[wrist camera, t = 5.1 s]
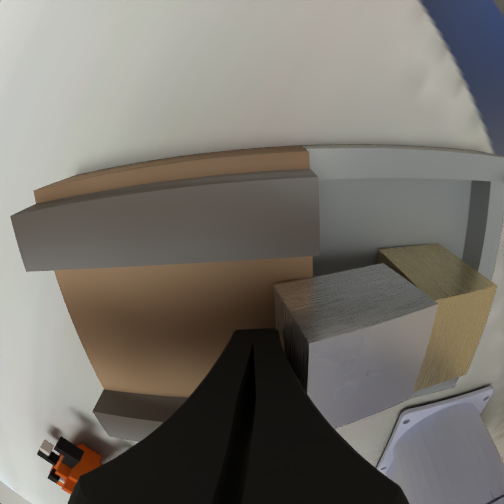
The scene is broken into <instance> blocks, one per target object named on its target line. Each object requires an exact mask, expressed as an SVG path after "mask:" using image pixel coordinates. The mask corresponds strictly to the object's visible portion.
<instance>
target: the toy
mask: <svg viewBox="0 0 504 504" xmlns="http://www.w3.org/2000/svg"><path fill="white" fill-rule="evenodd" d="M53 447H54V445H52V444H51V443H49V442H48V441H46V440H44V441H43V443H42V445H41V447H40V449H39V451H38V453H37V455H39V456H40V457H42V458H43V459H45V460H46V461H48V462H49V463H51V464H52V465H53V467H52V469H51V471H50V474H49V476H48V479H50V480H51V481H53V482H55V483H56V484H58V485H60V486H61V487H62V489H63V490H64V491H66V492H68V493H70V494H72V491H73V488H74V486H75V484H76V483H77V481H78V479H79V477H80V476H81V475H83V474H85V473H88V472H90V471H92V470H94V469H96V468H97V467H99V466H101V463H100V460H101V458H102V457H101V456H99V454H98V453H97V452H95V451H93V450H91V449H90V448H88V447H86V446H85V445H83V444H82V443H80V444H79V445H78V446H75V445H74V444H72V443H70V442H69V441H67V440H66V439H64V438H63V437H60V439H59V440H58V442H57V444H56V446H55V448H54V450H56V451H57V452H59V453H60V455H59V456H58V455H57V454H55V453H54V452H52V449H53Z"/></svg>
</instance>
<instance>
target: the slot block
mask: <svg viewBox="0 0 504 504" xmlns="http://www.w3.org/2000/svg"><path fill="white" fill-rule="evenodd" d="M34 195H35V200H36V204H35V205H33V206H31V207H28V208H26V209H24V210H22V211H20V212H18V213H16V214H14V215H12V216H10V217H11V221H12V225H13V229H14V232H15V236H16V240H17V243H18V247H19V250H20V253H21V257H22V260H23V263H24V266H25V269H26V272H28V271H50V270H54V272H55V275H56V278H57V281H58V284H59V287H60V290H61V292H62V295H63V298H64V301H65V303H66V306H67V309H68V311H69V314H70V316H71V319H72V321H73V324H74V326H75V329H76V331H77V333H78V336H79V338H80V340H81V343H82V345H83V347H84V349H85V352H86V354H87V356H88V358H89V360H90V362H91V364H92V366H93V368H94V371H95V373H96V375H97V377H98V379H99V380H100V382H101V384H102V386H103V388H104V390H103V392H102V394H101V396H100V398H99V400H98V402H97V404H96V406H95V408H94V409H93V413H94V414H95V416H96V417H97V419H98V421H99V422H100V424H101V425H102V427H103V428H104V430H105V431H106V432H107V434H108V435H109V436H111V437H116V438H121V439H126V440H132V441H138V442H140V441H141V440H143V439H144V438H145V437H147V436H148V435H149V434H150V433H152V432H153V431H154V430H155V429H157V428H158V427H159V426H160V425H161V424H162V423H163V422H164V421H166V420H167V419H168V418H169V417H170V416H171V415H172V414H173V413H174V412H175V411H176V410H177V409H178V408H179V407H180V406H181V405H182V404H183V403H184V402H185V401H186V400H187V399H188V397H189V396H190V395H191V394H192V393H193V392H194V390H195V389H196V388H197V387H198V385H199V384H200V383H201V382H202V380H203V379H204V378H205V377H206V375H207V374H208V372H209V371H210V370H211V368H212V367H213V365H214V364H215V362H216V361H217V359H218V358H219V356H220V355H221V353H222V352H223V350H224V348H225V347H226V345H227V343H228V341H229V340H230V338H231V336H232V334H233V332H234V331H235V330H240V329H264V328H276V323H275V304H274V286H273V285H274V284H280V283H285V282H290V281H296V280H301V279H306V278H311V277H313V256H320V211H319V180H318V176H317V175H316V174H315V173H314V172H313V171H312V170H311V169H310V159H309V151H308V150H306V149H304V148H302V147H300V146H282V147H266V148H253V149H241V150H230V151H220V152H211V153H203V154H194V155H187V156H179V157H172V158H165V159H159V160H153V161H146V162H140V163H135V164H129V165H124V166H118V167H113V168H108V169H103V170H98V171H93V172H89V173H84V174H80V175H75V176H72V177H69V178H67V179H64V180H61V181H58V182H55V183H53V184H50V185H47V186H45V187H42V188H39V189H37V190H34Z"/></svg>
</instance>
